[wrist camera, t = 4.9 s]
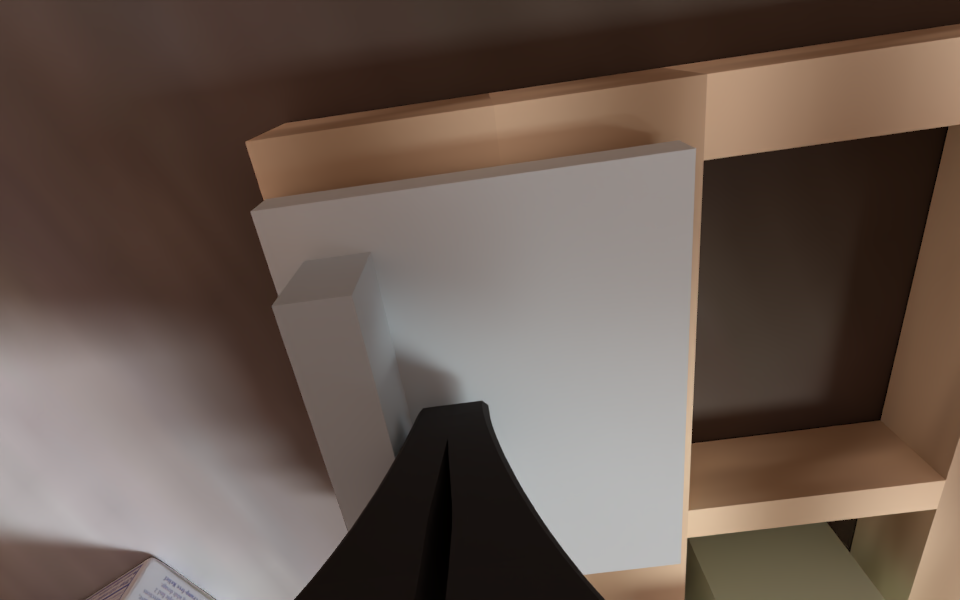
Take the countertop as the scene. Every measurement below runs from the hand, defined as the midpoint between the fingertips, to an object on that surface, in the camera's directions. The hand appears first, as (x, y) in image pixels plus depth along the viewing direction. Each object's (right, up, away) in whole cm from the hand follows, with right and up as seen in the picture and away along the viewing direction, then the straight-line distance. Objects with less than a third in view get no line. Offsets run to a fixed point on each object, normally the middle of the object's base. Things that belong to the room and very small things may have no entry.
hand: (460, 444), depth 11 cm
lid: (+1, +1, +1) cm, 2 cm away
